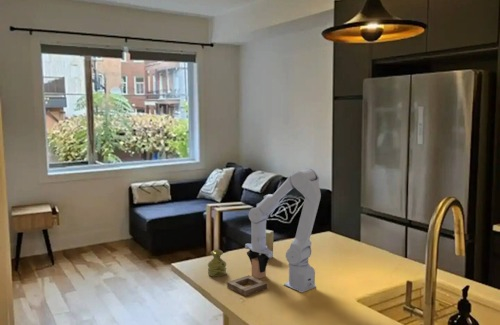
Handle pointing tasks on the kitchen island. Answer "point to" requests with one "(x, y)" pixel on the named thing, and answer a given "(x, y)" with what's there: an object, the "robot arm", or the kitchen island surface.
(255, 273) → the peg
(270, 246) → the skincare box
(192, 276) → the kitchen island surface
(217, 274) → the olive green textured figure
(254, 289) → the socket block
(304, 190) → the robot arm
